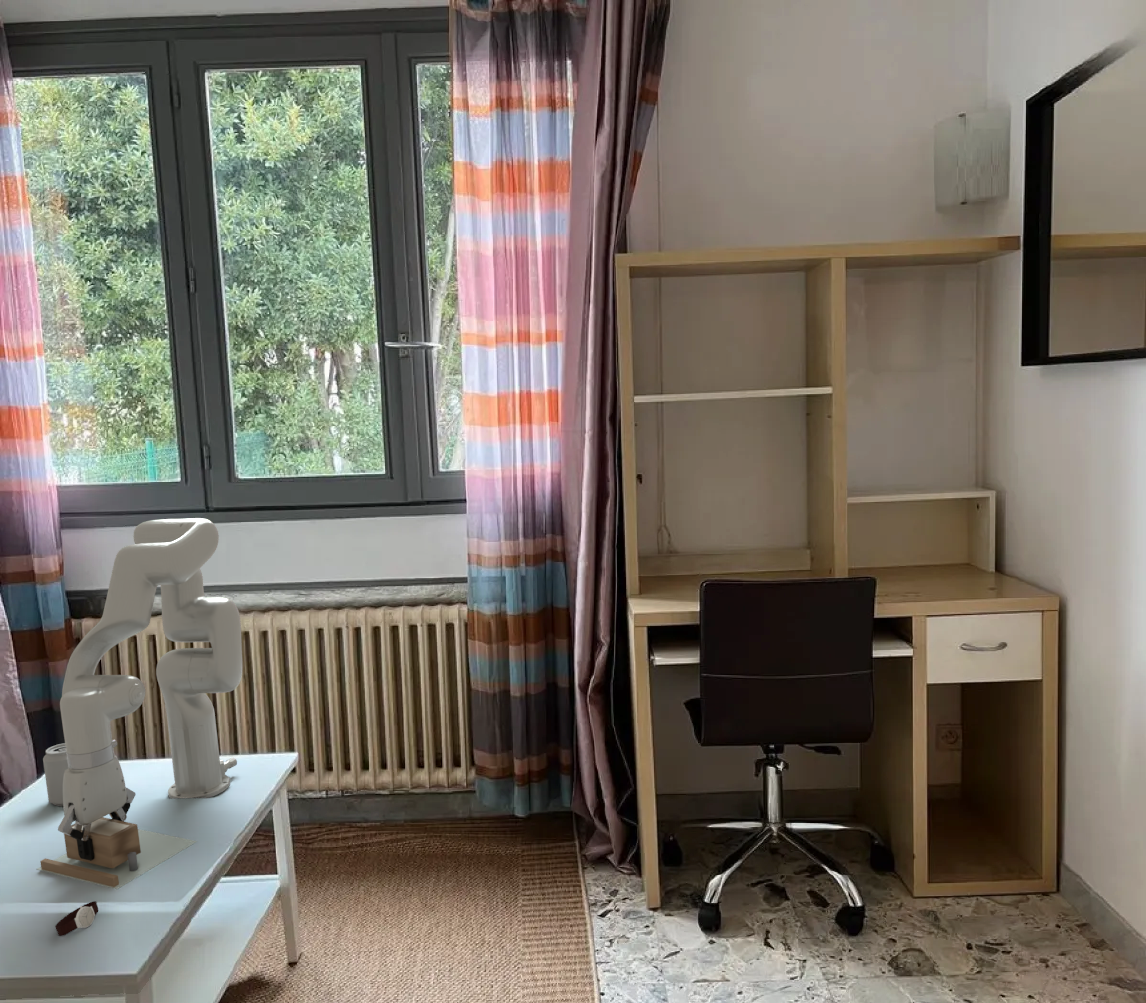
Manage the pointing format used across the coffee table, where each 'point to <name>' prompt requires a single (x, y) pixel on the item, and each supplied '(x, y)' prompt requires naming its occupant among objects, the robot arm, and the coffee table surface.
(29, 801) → the coffee table surface
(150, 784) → the coffee table surface
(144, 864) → the wall board
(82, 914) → the watch
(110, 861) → the wooden box
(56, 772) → the can
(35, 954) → the coffee table surface
